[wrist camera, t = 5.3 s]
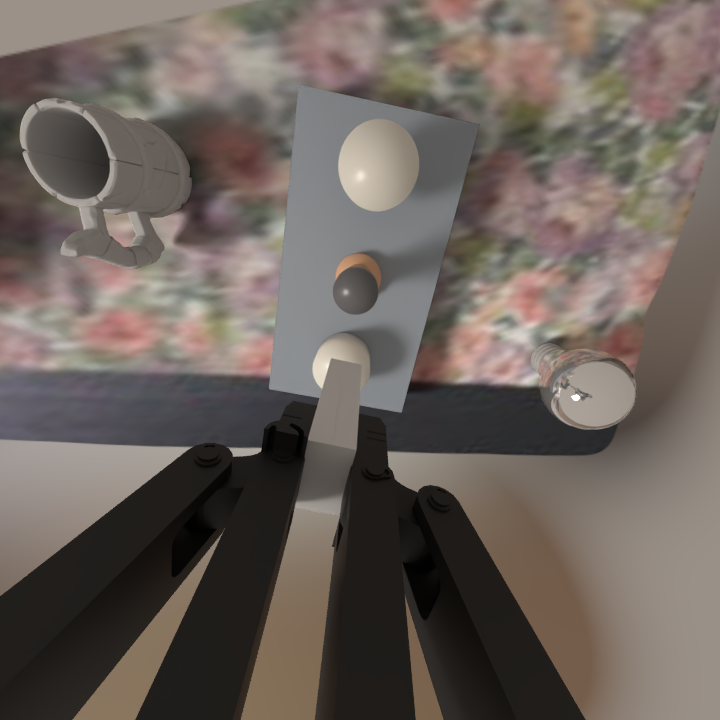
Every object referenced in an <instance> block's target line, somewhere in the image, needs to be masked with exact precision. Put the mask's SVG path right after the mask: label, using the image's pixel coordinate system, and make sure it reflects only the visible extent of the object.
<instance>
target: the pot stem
mask: <svg viewBox="0 0 720 720" xmlns="http://www.w3.org/2000/svg"><path fill="white" fill-rule="evenodd" d="M380 283H381V271H380V268H379V266H378V264H377V262H376V261H375V260H374V259H373V258H372V257H370V256H369V255H366V254H363V253H355V254H351V255H349V256H347V257H346V258H344V259H343V260H342V261H341V263H340V264H339V266H338V268H337V270H336V281H335V283H334V286H333V298H334V301H335V303H336V304H337V306H338V307H339V308H340V309H341V310H343V311H344V312H346V313H348V314H353V315H359V314H363V313H366V312H367V311H369V310H370V309H371V308H372V307H373V306H374V305H375V303H376V301H377V298H378V289H379V286H380Z"/></svg>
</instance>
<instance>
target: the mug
mask: <svg viewBox="0 0 720 720" xmlns="http://www.w3.org/2000/svg"><path fill="white" fill-rule="evenodd" d="M20 142H21V145H22V148H23V149H25V150H28V151H24V152H23V156H24V159H25V161H26V164H27V166H28V168H29V170H30V171H31V173H32V174H33V176H34V177H35V179H36V180H37V181H38V182H39V184H40V185H41V186H42V187H43V188H44V189H45V190H46V191H47V192H49V193H50V194H51V195H53V196H54V197H57V198H58V199H59V200H61V201H63V202H65V203H67V204H70V205H73V206H78V207H79V210H80V215H81V220H82V224H83V227H84V230H80V231H76V232H73V233H72V234H71V235H70V236H69V237H68V238H67V239H66V240H65V241H64V242H63V244H62V247H61V254H62V255H64V256H70V257H78V256H88V257H89V258H91V259H96V260H100V261H103V262H106V263H109V264H112V265H115V266H118V267H122V268H124V269H137V268H140V267H142V266H146V265H150V264H153V263H155V262H156V261H157V260H158V259H159V258H160V256H161V252H162V251H163V250H164V244H163V242H162V241H161V239H160V238H159V237H158V236H157V234H156V232H155V230H154V228H153V226H152V224H151V222H150V218H159V217H164V216H167V215H170V214H172V213H173V212H175V211H176V210H178V209H180V208H181V207H182V206H181V205H182V204H183V203H186V201H187V200H188V198H189V196H190V193H191V187H192V178H191V177H189V176H190V165H189V163H188V160H187V158H186V156H185V154H184V152H183V151H182V149H181V148H180V147H179V145H178V144H177V143H176V142H175V141H174V140H173V139H172V138H171V137H170V136H169V135H168V134H167V133H166V132H164V131H163V130H162V129H160V128H159V127H157V126H155V125H154V124H152V123H150V122H147V121H143V120H141V119H139V118H133V119H132V118H128V119H125V118H123V117H122V116H120V115H119V114H117V113H115V112H113V111H111V110H108V109H106V108H104V107H101V106H100V105H98V104H94V103H90V104H80V103H77V102H74V101H70V100H65V99H60V98H50V99H43V100H41V101H39V102H37V103H36V104H33V105H31V106H30V107H29V108H28V110H27V111H26V113H25V115H24V117H23V119H22V122H21V127H20ZM104 213H107V214H115V215H118V214H122V213H127V214H128V216H129V219H130V221H131V224H132V227H133V229H134V231H135V234H136V237H134V239H133V241H132V244H131V245H130V246H129V247H123V246H122V245H121V244H120V243H119V242H117V241H116V240H115V239H114V238H113V237H111V236H109V234H108V231H107V227H106V223H105V218H104Z"/></svg>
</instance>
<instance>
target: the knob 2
mask: <svg viewBox="0 0 720 720" xmlns="http://www.w3.org/2000/svg"><path fill="white" fill-rule="evenodd" d="M338 171H339V177H340V181H341V184H342V186H343V189H344V190H345V192H346V194H347V195H348V196H349V198H350V199H351V200H352V201H353V202H354V203H355V204H357V205H358V206H359V207H361V208H363V209H365V210H368V211H372V212H381V211H386V210H389V209H391V208H393V207H395V206H397V205H399V204H400V203H401V202H402V201H404V200H405V199H406V198H407V197H408V195H409V194H410V193H411V191H412V189H413V188H414V186H415V183H416V181H417V177H418V172H419V155H418V150H417V147H416V145H415V142H414V140H413V139H412V137H411V135H410V134H409V133H408V132H407V131H406V130H405V129H404V128H403V127H402V126H401V125H399V124H397V123H395V122H393V121H390V120H387V119H373V120H369V121H366V122H364V123H362V124H360V125H359V126H357V127H356V128H355V129H354V130H353V131H351V133H350V134H349V135H348V136H347V138H346V140H345V141H344V143H343V145H342V148H341V151H340V155H339V161H338Z"/></svg>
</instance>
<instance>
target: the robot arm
mask: <svg viewBox="0 0 720 720" xmlns="http://www.w3.org/2000/svg"><path fill="white" fill-rule="evenodd" d="M361 369H362V365H361V364H356V363H352V362H347V361H342V360H338V359H333V358H331V360H330V364H329V367H328V371H327V374H326V377H325V381H324V384H323V388H322V391H321V395H320V398H319V402H318V405H317V406H315V405H311V404H306V403H301V402H296V401H294V402H292V403H291V404H289V405H288V406H286V408H285V410H284V412H283V415H282V417H281V419H280V420H279V421H274V422H272V423H270V424H268V425H267V426H266V427H265V428H264V436H263V443H262V450H261V452H260V453H258V454H255V455H251V456H243V457H233V454H232V452H231V451H230V449H229V448H227V447H225V446H223V445H220V444H216V443H204V444H200V445H196V446H194V447H192V448H191V449H189V450H187V451H186V452H185V453H184V454H182V455H181V456H180V457H178V458H177V459H176V460H175V461H173V462H172V463H171V464H169V465H168V466H167V467H166V468H164V469H163V470H162V471H160V472H159V473H158V474H157V475H155V476H154V477H153V478H151V479H150V480H149V481H148V482H147V483H145V484H144V485H142V486H141V487H140V488H139V489H137V490H136V491H135V492H134V493H132V494H131V495H130V496H128V497H127V498H126V499H125V500H124V501H122V502H121V503H120V504H118V505H117V506H116V507H114V508H113V509H112V510H110V511H109V512H108V513H107V514H105V515H104V516H103V517H101V518H100V519H99V520H98V521H96V522H95V523H94V524H93V525H91V526H90V527H89V528H88V529H86V530H85V531H83V532H82V533H81V534H80V535H78V536H77V537H76V538H74V540H72V541H71V542H69V543H68V544H67V545H66V546H64V547H63V548H62V549H60V550H59V551H58V552H57V553H55V554H54V555H53V556H51V557H50V558H49V559H48V560H46V561H45V562H44V563H42V564H41V565H40V566H39V567H37V568H36V569H35V570H34V571H32V572H31V573H30V574H28V575H27V576H26V577H24V578H23V579H22V580H21V581H20V582H18V583H17V584H15V585H14V586H13V587H12V588H11V589H9V590H8V591H6V592H5V593H4V594H3V595H1V596H0V720H72V719H73V718H74V717H75V716H76V714H77V713H78V712H79V711H80V709H81V708H82V707H83V706H84V704H85V703H86V702H87V701H88V699H89V698H90V697H91V696H92V695H93V693H94V692H95V691H96V689H97V688H98V687H99V686H100V684H101V683H102V682H103V681H104V680H105V678H106V677H107V676H108V675H109V673H110V672H111V671H112V670H113V668H114V667H115V666H116V664H117V663H118V662H119V661H120V660H121V658H122V657H123V656H124V655H125V653H126V652H127V650H129V648H130V647H131V646H132V645H133V643H134V642H135V641H136V639H137V638H138V637H139V636H140V634H141V633H142V632H143V631H144V630H145V628H146V627H147V626H148V625H149V623H150V622H151V621H152V620H153V618H154V617H155V616H156V615H157V613H158V612H159V611H160V610H161V609H162V607H163V606H164V605H165V604H166V602H167V601H168V600H169V599H170V597H171V596H172V595H173V594H174V592H175V591H176V590H177V589H178V587H179V586H180V585H181V584H182V582H183V581H184V580H185V579H186V577H187V576H188V575H189V574H190V572H191V571H192V570H193V568H194V567H195V566H196V565H197V563H198V562H199V561H200V560H201V558H202V557H203V556H204V555H205V554H206V552H207V551H208V550H209V549H210V547H211V546H212V545H213V544H214V543H215V541H216V540H217V539H218V538H219V536H220V535H221V534H222V532H223V531H224V532H223V534H222V536H221V538H220V540H219V542H218V545H217V547H216V549H215V551H214V553H213V555H212V557H211V559H210V562H209V564H208V566H207V568H206V570H205V572H204V574H203V577H202V579H201V581H200V583H199V585H198V587H197V589H196V592H195V594H194V596H193V598H192V600H191V602H190V605H189V607H188V609H187V611H186V613H185V615H184V617H183V619H182V621H181V624H180V626H179V628H178V630H177V632H176V634H175V636H174V639H173V641H172V643H171V645H170V647H169V649H168V651H167V653H166V656H165V658H164V660H163V662H162V664H161V666H160V668H159V670H158V673H157V675H156V677H155V679H154V681H153V684H152V685H151V688H150V690H149V692H148V694H147V696H146V698H145V701H144V703H143V705H142V707H141V709H140V711H139V713H138V715H137V718H136V720H241V716H242V712H243V708H244V704H245V700H246V697H247V693H248V689H249V685H250V681H251V677H252V673H253V670H254V665H255V662H256V658H257V654H258V650H259V646H260V642H261V638H262V635H263V631H264V627H265V623H266V619H267V615H268V611H269V608H270V604H271V600H272V596H273V592H274V588H275V584H276V580H277V577H278V573H279V568H280V565H281V561H282V557H283V553H284V550H285V546H286V542H287V538H288V534H289V530H290V526H291V522H292V518H293V513H294V508H299V509H304V510H310V511H315V512H320V513H325V514H331V515H336V516H339V514H340V519H339V523H338V526H337V530H336V534H335V537H334V541H333V545H332V547H335V548H334V557H333V566H332V575H331V583H330V592H329V601H328V610H327V618H326V628H325V636H324V645H323V653H322V654H323V655H322V663H321V671H320V680H319V689H318V697H317V706H316V715H315V720H416V719H415V707H414V696H413V685H412V673H411V662H410V650H409V639H408V627H407V616H406V606H405V596H406V599H407V603H408V606H409V609H410V612H411V616H412V619H413V622H414V625H415V629H416V632H417V635H418V638H419V642H420V645H421V648H422V651H423V654H424V658H425V661H426V664H427V667H428V671H429V674H430V677H431V680H432V683H433V687H434V690H435V693H436V696H437V699H438V703H439V706H440V709H441V712H442V716H443V719H444V720H585V718H584V716H583V715H582V713H581V712H580V709H579V708H578V706H577V704H576V703H575V701H574V699H573V697H572V696H571V694H570V692H569V691H568V689H567V687H566V685H565V684H564V682H563V680H562V679H561V677H560V675H559V673H558V672H557V670H556V668H555V667H554V665H553V663H552V661H551V660H550V658H549V656H548V655H547V653H546V651H545V649H544V648H543V646H542V644H541V642H540V641H539V639H538V637H537V636H536V634H535V632H534V631H533V629H532V627H531V625H530V624H529V622H528V620H527V618H526V617H525V615H524V613H523V612H522V610H521V608H520V606H519V605H518V603H517V601H516V600H515V598H514V596H513V594H512V593H511V591H510V589H509V588H508V586H507V584H506V582H505V581H504V579H503V577H502V575H501V574H500V572H499V570H498V569H497V567H496V565H495V564H494V562H493V560H492V558H491V556H490V555H489V553H488V552H487V550H486V548H485V547H484V544H483V543H482V541H481V539H480V538H479V536H478V534H477V532H476V531H475V529H474V527H473V526H472V524H471V522H470V521H469V519H468V517H467V516H466V513H465V512H464V510H463V508H462V507H461V505H460V503H459V502H458V501H457V499H456V498H455V497H454V495H452V494H451V493H449V492H448V491H447V490H445V489H443V488H440V487H438V486H432V485H429V486H424V487H422V488H421V489H419V491H418V492H415V491H413V490H411V489H409V488H407V487H405V486H403V485H401V484H400V483H399V482H397V481H396V480H395V479H394V475H393V472H392V470H391V469H390V468H389V467H388V456H387V443H386V441H387V440H386V426H385V425H384V423H383V422H382V420H381V419H380V418H377V417H372V416H368V415H363V414H359V402H360V386H361ZM340 510H341V511H340ZM224 529H225V530H224Z"/></svg>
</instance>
